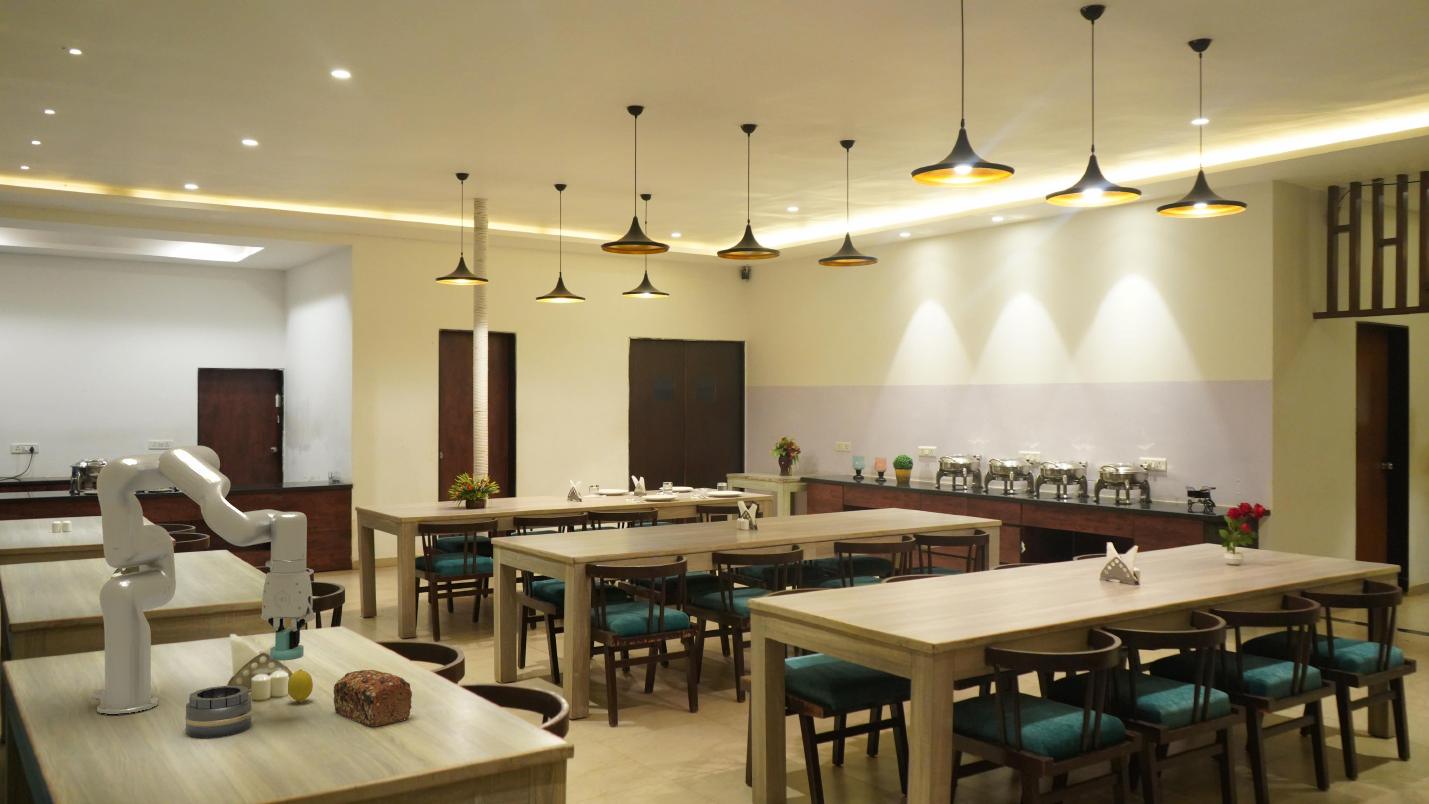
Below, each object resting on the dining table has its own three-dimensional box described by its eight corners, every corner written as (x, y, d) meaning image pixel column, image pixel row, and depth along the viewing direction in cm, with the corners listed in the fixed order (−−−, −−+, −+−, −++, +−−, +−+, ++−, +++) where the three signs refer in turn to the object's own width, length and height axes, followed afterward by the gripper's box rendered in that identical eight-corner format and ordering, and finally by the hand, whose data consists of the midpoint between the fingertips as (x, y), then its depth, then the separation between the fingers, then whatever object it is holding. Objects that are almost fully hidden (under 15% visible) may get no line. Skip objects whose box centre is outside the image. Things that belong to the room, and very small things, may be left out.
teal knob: (264, 659, 230) (264, 633, 230) (279, 652, 237) (280, 626, 237) (294, 660, 230) (294, 634, 230) (309, 653, 237) (309, 627, 237)
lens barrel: (172, 737, 221) (172, 700, 221) (207, 719, 234) (207, 684, 234) (230, 739, 219) (230, 701, 219) (263, 720, 233) (263, 685, 233)
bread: (413, 719, 233) (413, 675, 233) (368, 730, 226) (368, 684, 226) (374, 703, 246) (374, 661, 246) (331, 712, 239) (331, 669, 239)
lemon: (304, 706, 244) (303, 672, 244) (283, 705, 245) (283, 671, 245) (317, 699, 249) (317, 666, 249) (297, 698, 250) (296, 665, 250)
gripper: (246, 568, 231) (245, 650, 231) (314, 570, 229) (313, 652, 229) (263, 563, 238) (262, 642, 238) (330, 564, 237) (329, 644, 237)
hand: (287, 646), depth 234 cm, fingers closed on teal knob
